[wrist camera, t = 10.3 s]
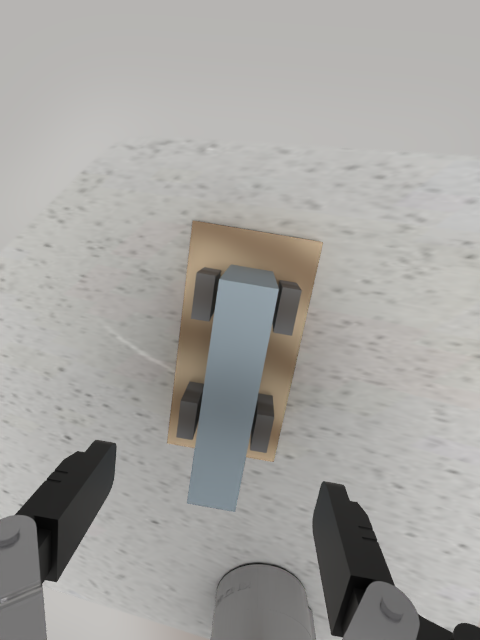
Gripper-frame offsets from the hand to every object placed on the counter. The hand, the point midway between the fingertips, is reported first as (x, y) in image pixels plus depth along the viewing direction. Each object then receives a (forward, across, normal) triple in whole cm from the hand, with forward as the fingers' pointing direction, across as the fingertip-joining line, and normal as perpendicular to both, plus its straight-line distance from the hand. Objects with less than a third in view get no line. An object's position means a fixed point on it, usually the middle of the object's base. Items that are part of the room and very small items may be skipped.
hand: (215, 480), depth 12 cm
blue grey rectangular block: (+13, 0, 0) cm, 13 cm away
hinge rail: (+14, 0, -1) cm, 14 cm away
